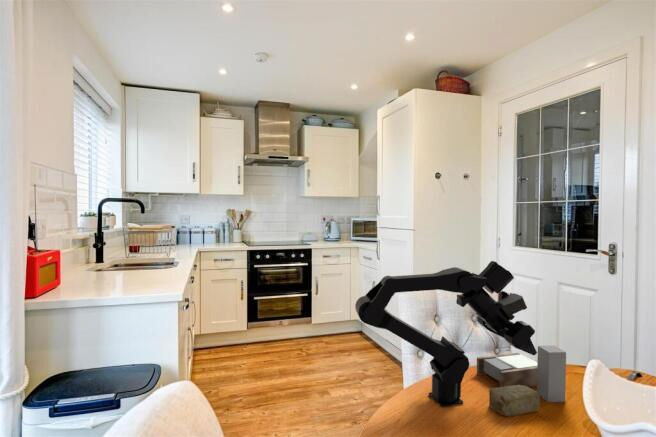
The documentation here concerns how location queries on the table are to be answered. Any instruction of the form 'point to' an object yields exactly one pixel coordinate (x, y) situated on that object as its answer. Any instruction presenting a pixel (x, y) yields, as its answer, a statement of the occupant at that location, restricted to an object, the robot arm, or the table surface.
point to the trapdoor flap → (506, 364)
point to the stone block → (514, 400)
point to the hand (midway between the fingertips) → (524, 347)
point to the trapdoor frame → (511, 373)
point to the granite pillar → (551, 373)
